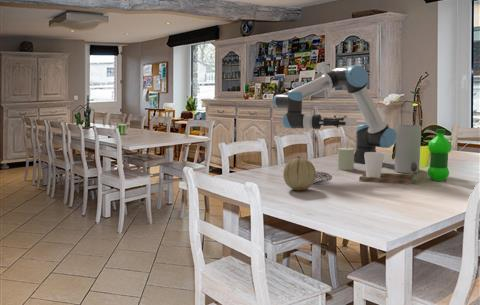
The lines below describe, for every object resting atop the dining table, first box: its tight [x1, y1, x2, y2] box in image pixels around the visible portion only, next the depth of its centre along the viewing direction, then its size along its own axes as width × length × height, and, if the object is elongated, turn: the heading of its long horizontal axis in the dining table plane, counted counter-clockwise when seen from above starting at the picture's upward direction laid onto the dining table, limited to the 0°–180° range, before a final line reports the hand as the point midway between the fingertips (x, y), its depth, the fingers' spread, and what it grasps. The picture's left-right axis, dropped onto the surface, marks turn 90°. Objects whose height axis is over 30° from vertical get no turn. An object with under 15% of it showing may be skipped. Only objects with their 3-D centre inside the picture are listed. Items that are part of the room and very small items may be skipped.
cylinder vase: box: [394, 124, 422, 175], centre depth 244 cm, size 12×12×25 cm
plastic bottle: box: [427, 128, 453, 182], centre depth 222 cm, size 10×10×25 cm
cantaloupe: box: [282, 156, 317, 192], centre depth 203 cm, size 15×15×15 cm
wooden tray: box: [358, 162, 417, 185], centre depth 224 cm, size 26×14×9 cm, turn 68°
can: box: [336, 147, 355, 171], centre depth 255 cm, size 9×9×12 cm
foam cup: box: [364, 151, 385, 178], centre depth 226 cm, size 10×9×13 cm
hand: (354, 122), depth 227 cm, fingers open, 13 cm apart
